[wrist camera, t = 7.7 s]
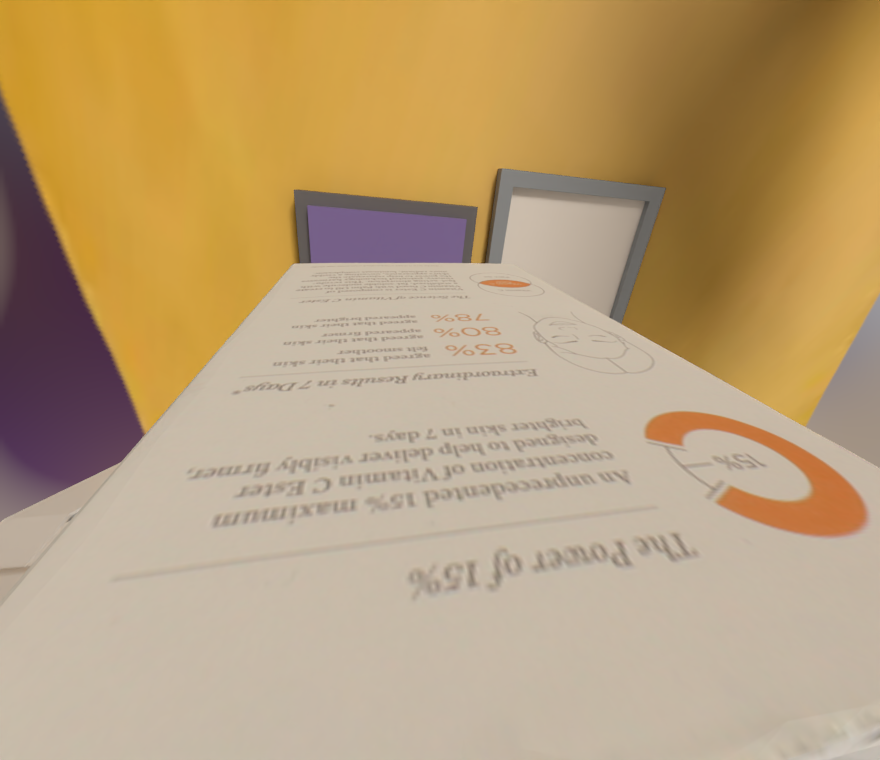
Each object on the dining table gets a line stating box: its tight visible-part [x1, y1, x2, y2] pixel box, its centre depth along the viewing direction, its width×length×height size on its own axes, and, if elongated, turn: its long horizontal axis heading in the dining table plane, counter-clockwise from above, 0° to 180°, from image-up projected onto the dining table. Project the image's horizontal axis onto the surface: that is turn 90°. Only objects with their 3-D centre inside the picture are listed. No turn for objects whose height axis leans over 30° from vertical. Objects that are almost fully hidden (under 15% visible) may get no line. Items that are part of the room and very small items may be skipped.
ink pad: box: [294, 190, 478, 263], centre depth 27 cm, size 12×10×2 cm
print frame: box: [485, 169, 666, 324], centre depth 30 cm, size 13×15×1 cm
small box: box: [0, 263, 880, 760], centre depth 9 cm, size 8×6×13 cm
